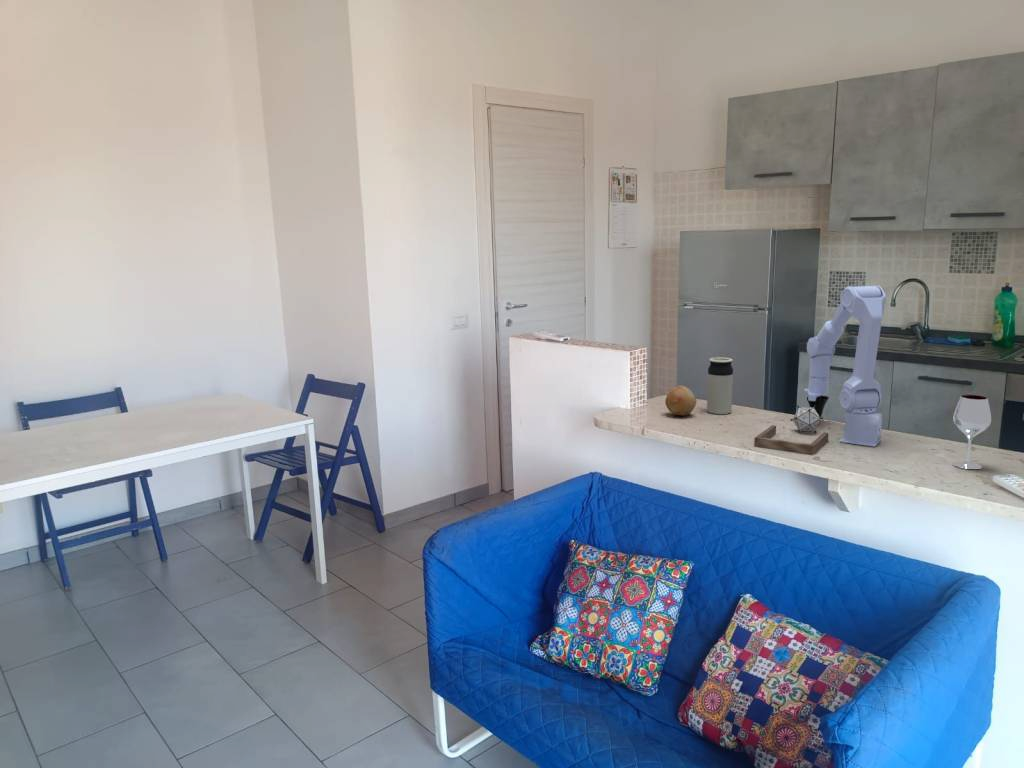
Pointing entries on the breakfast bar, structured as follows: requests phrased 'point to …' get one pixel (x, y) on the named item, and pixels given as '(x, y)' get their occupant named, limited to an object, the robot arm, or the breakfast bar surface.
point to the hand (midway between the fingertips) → (816, 419)
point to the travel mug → (720, 386)
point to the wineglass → (971, 422)
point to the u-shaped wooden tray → (788, 442)
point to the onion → (680, 401)
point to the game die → (806, 419)
